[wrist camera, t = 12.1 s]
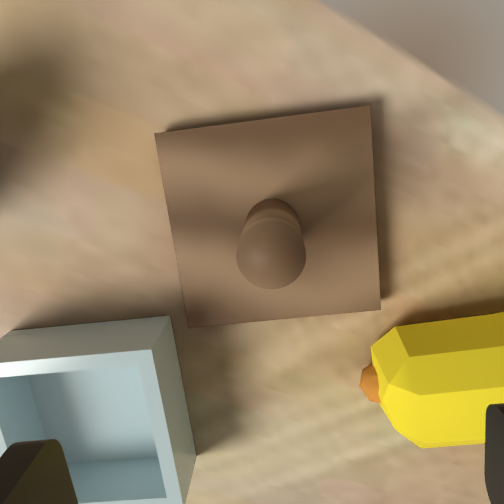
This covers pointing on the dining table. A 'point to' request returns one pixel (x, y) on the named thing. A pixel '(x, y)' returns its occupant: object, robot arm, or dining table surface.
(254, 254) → the lid
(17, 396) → the dish
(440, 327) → the yellow faceted long part
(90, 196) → the dining table surface
